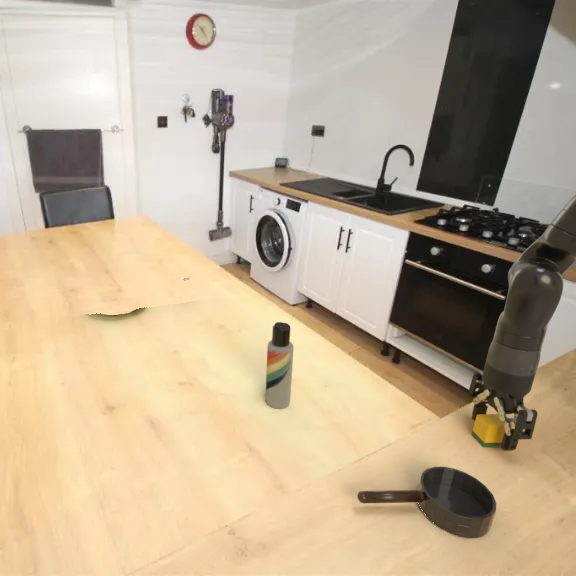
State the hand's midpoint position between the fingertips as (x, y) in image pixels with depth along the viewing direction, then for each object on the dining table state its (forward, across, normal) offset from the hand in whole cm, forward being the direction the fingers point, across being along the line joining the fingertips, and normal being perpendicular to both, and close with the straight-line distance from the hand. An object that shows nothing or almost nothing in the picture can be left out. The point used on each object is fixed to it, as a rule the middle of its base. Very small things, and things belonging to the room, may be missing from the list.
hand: (491, 434), depth 82 cm
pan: (+1, -16, +17) cm, 23 cm away
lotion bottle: (+1, +14, +40) cm, 42 cm away
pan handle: (-1, -16, +28) cm, 32 cm away
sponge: (+1, 0, 0) cm, 1 cm away
